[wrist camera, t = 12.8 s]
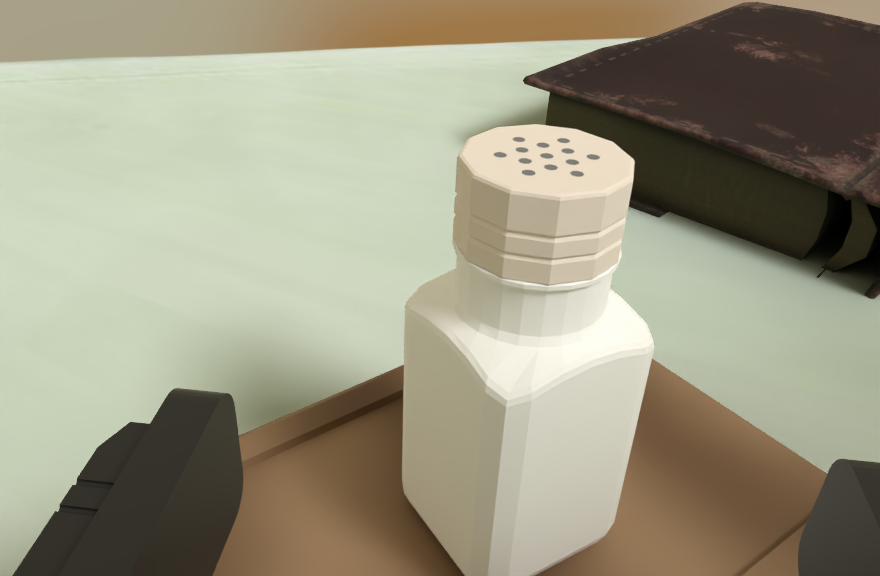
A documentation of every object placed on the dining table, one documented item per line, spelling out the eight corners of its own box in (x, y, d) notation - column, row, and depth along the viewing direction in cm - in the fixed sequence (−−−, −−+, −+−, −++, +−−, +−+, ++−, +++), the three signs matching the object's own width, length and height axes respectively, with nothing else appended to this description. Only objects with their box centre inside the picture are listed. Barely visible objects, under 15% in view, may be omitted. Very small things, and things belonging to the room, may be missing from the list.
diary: (1011, 145, 47) (1052, 60, 44) (879, 322, 31) (930, 207, 28) (716, 64, 57) (734, -9, 54) (500, 167, 41) (510, 70, 38)
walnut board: (555, 325, 28) (560, 290, 28) (881, 551, 21) (901, 512, 20) (95, 535, 20) (83, 493, 19) (348, 1050, 12) (346, 1016, 11)
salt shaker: (620, 541, 19) (709, 176, 14) (481, 616, 17) (524, 229, 12) (520, 438, 22) (562, 103, 17) (391, 493, 20) (394, 136, 15)
